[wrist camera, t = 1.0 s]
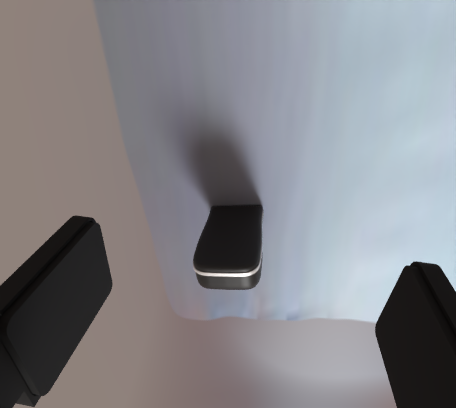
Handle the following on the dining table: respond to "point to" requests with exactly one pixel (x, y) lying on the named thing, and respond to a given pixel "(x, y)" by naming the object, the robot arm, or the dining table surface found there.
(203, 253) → the battery charger
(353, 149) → the dining table surface
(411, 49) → the dining table surface
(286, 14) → the dining table surface
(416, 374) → the robot arm
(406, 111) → the dining table surface
